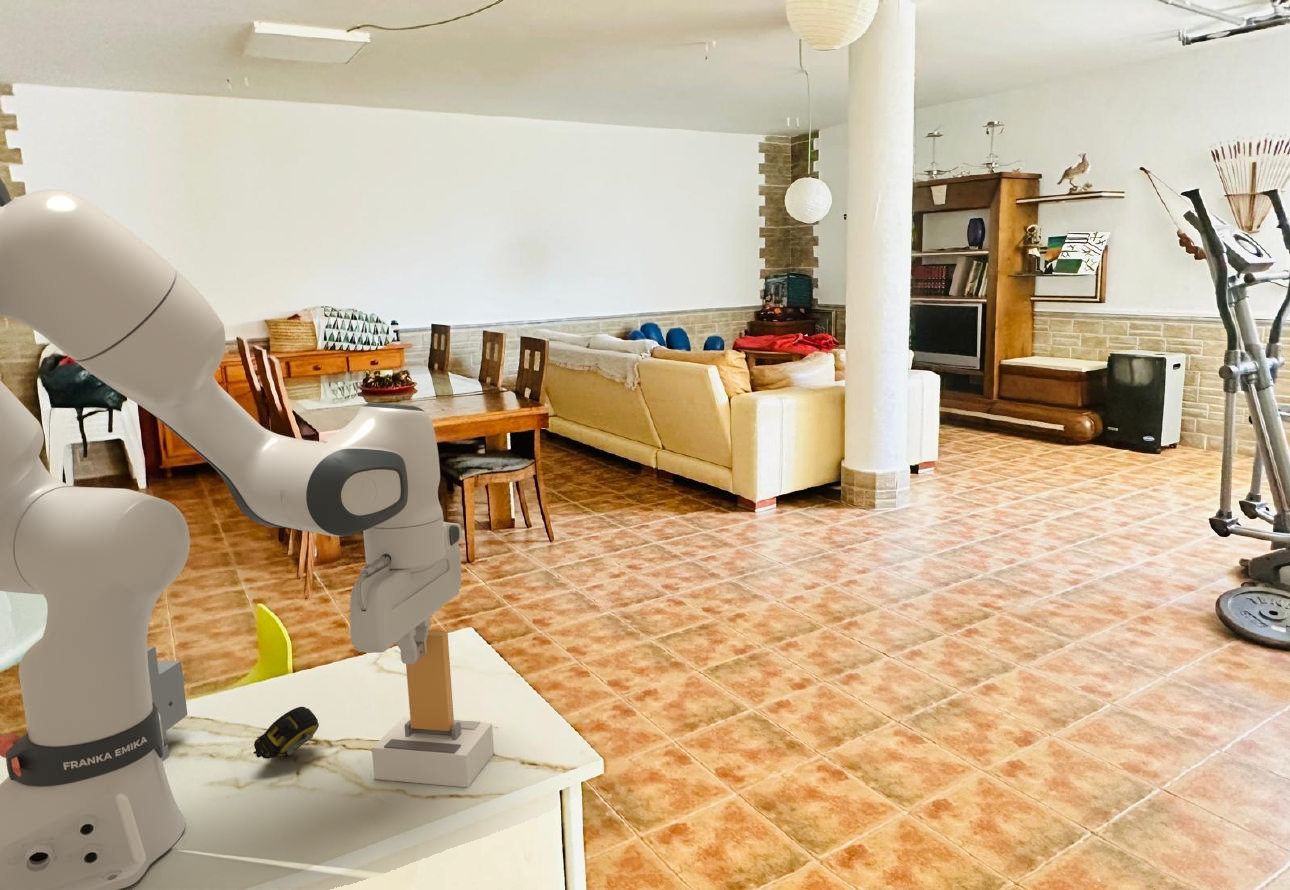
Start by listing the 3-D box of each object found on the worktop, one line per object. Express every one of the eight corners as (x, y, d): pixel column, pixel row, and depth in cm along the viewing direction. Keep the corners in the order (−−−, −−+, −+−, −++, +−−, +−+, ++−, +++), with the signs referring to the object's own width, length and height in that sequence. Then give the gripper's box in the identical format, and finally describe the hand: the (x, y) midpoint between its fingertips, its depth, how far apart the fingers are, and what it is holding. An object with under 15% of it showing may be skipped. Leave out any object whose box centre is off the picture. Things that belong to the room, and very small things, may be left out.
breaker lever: (449, 738, 105) (442, 635, 103) (411, 735, 107) (403, 634, 104) (454, 732, 107) (447, 631, 105) (417, 730, 108) (409, 629, 106)
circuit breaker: (198, 735, 117) (185, 628, 115) (125, 793, 103) (109, 673, 101) (146, 734, 118) (132, 628, 116) (67, 792, 104) (49, 672, 102)
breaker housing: (468, 787, 102) (465, 743, 101) (374, 779, 105) (370, 736, 104) (493, 753, 110) (491, 712, 109) (406, 746, 112) (402, 705, 112)
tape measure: (290, 763, 111) (273, 740, 112) (332, 725, 112) (315, 702, 113) (264, 768, 105) (246, 743, 106) (309, 727, 106) (291, 704, 107)
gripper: (384, 572, 89) (395, 700, 91) (467, 522, 108) (474, 628, 111) (328, 570, 90) (340, 696, 92) (420, 521, 110) (428, 626, 112)
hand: (414, 659), depth 102 cm, fingers closed
